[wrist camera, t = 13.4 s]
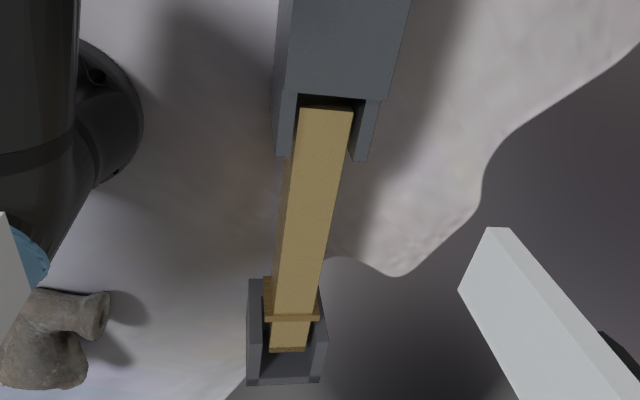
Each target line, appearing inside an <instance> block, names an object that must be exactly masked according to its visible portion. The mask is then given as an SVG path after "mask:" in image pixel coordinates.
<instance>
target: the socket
mask: <svg viewBox="0 0 640 400" xmlns="http://www.w3.org/2000/svg"><path fill="white" fill-rule="evenodd" d="M316 295H317V300H318V306H319V311H320V319H319V321H311V322H310V327H309V332H308V336H307V341H306V346H305V351H304V352H276V353H269V351H268V330H267V322H265V321H264V298H263V279H249V289H248V303H247V316H246V386H265V385H284V384H304V383H319V380H320V376H321V373H322V369H323V365H324V360H325V356H326V353H327V349H328V345H329V338H328V333H327V328H326V322H325V317H324V312H323V307H322V302H321V297H320V291H319V286H318V288H317V293H316Z"/></svg>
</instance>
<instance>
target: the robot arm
mask: <svg viewBox="0 0 640 400" xmlns="http://www.w3.org/2000/svg"><path fill="white" fill-rule="evenodd" d="M80 10H81V0H0V345H1V343H2V342H3V340H4V338H5V336H6V335H7V333H8V331H9V330H10V328H11V326H12V324H13V323H14V321H15V319H16V317H17V316H18V314H19V312H20V311H21V309H22V307H23V305H24V304H25V302H26V300H27V298H28V297H29V295H30V294H31V292H32V291H33V290H34V288H35V287H36V286H37V284H38V283H39V282H40V281H42V280H43V278H45V277H46V275H47V273H48V270H49V268H50V263H51V261H52V259H53V257H54V256H55V254H56V252H57V250H58V249H59V247H60V245H61V243H62V241H63V240H64V238H65V236H66V234H67V233H68V231H69V229H70V227H71V226H72V224H73V222H74V220H75V218H76V217H77V215H78V213H79V211H80V210H81V208H82V206H83V204H84V202H85V201H86V199H87V197H88V195H89V193H90V192H91V190H92V189H94V188H95V187H97V186H98V185H99V184H101V183H103V182H105V181H107V180H109V179H111V178H113V177H114V176H116V175H117V174H118V173H120V172H121V171H122V170H123V169H124V168H125V167H126V166H127V165H128V163H129V162H130V161H131V159H132V158H133V156H134V154H135V152H136V150H137V148H138V146H139V143H140V141H141V138H142V133H143V123H144V122H143V112H142V107H141V104H140V101H139V98H138V95H137V93H136V91H135V89H134V87H133V86H132V84H131V82H130V81H129V79H128V78H127V77H126V75H125V74H124V73H123V71H122V70H121V69H120V68H119V67H118V66H117V65H116V64H115V63H114V62H113V61H112V60H111V59H110V58H109V57H107V56H106V55H105V54H104V53H102V52H101V51H100V50H98V49H97V48H95V47H94V46H92V45H90V44H89V43H87V42H85V41H83V40H81V39H79V31H80ZM458 292H459V294H460V295H461V297H462V299H463V301H464V302H465V304H466V306H467V308H468V310H469V311H470V313H471V315H472V317H473V318H474V320H475V322H476V324H477V325H478V327H479V329H480V331H481V332H482V334H483V336H484V338H485V340H486V341H487V343H488V345H489V346H490V348H491V350H492V352H493V354H494V356H495V357H496V359H497V361H498V363H499V364H500V366H501V368H502V370H503V371H504V373H505V375H506V376H507V378H508V380H509V382H510V384H511V386H512V387H513V389H514V391H515V393H516V394H517V396H518V398H519V400H640V366H639V365H638V363H637V362H636V361H635V360H634V359H633V358H632V357H631V355H630V354H629V353H628V352H627V351H626V350H625V349H624V348H623V347H622V346H621V345H619V344H618V343H617V342H616V341H614V340H613V339H612V338H610V337H609V336H608V335H606V334H605V333H604V332H603V331H596V330H595V329H594V328H593V326H592V325H591V324H590V323H589V322H588V321H587V320H586V318H585V317H584V316H583V315H582V313H581V312H580V311H579V310H578V309H577V308H576V306H575V305H574V304H573V303H572V302H571V300H570V299H569V298H568V297H567V296H566V295H565V293H564V292H563V291H562V290H561V289H560V288H559V286H558V285H557V284H556V283H555V282H554V281H553V279H552V278H551V277H550V276H549V274H548V273H547V272H546V271H545V270H544V269H543V267H542V266H541V265H540V264H539V263H538V262H537V260H536V259H535V258H534V257H533V256H532V254H531V253H530V252H529V251H528V250H527V248H526V247H525V246H524V245H523V244H522V243H521V241H520V240H519V239H518V238H517V237H516V235H515V234H514V233H513V232H512V231H511V230H510V228H501V227H487V228H486V230H485V233H484V235H483V237H482V239H481V241H480V243H479V245H478V247H477V250H476V251H475V254H474V256H473V258H472V260H471V262H470V264H469V266H468V268H467V271H466V273H465V275H464V277H463V279H462V281H461V284H460V285H459V287H458Z"/></svg>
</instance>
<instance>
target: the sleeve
mask: <svg viewBox="0 0 640 400" xmlns="http://www.w3.org/2000/svg"><path fill="white" fill-rule="evenodd" d="M410 4H411V0H279V8H278V19H277V31H276V43H275V54H274V66H273V78H272V89H271V101H270V114H271V122H272V131H273V139H274V148H275V156H277V157H290V152H291V144H292V136H293V127H294V119H295V111H296V103H297V95H298V93H306V94H316V95H327V96H337V97H345V98H346V99H347V101H348V103H349V105H350V107H351V108H352V110H353V112H354V113H353V118H352V123H351V128H350V132H349V137H348V142H347V149H348V151H349V153H350V156H351V158H352V160H353V161H356V162H366V161H367V157H368V152H369V148H370V144H371V140H372V136H373V132H374V128H375V123H376V119H377V115H378V111H379V107H380V103H381V101H387V97H388V93H389V89H390V85H391V81H392V77H393V73H394V69H395V65H396V61H397V57H398V53H399V48H400V44H401V40H402V36H403V32H404V28H405V24H406V20H407V16H408V12H409V8H410Z"/></svg>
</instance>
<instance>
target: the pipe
mask: <svg viewBox="0 0 640 400" xmlns="http://www.w3.org/2000/svg"><path fill="white" fill-rule="evenodd" d="M109 311H110V294H109V293H108V292H97V293H93V294H90V295H89V296H78V295H73V294H67V293H61V292H57V291H53V290H48V289H43V288H34V290H33V291H32V292H31V294H30V295H29V297H28V298H27V300H26V302H25V304H24V305H23V307H22V309H21V311H20V312H19V314H18V316H17V317H16V319H15V321H14V323H13V324H12V326H11V328H10V330H9V331H8V333H7V335H6V336H5V338H4V340H3V342H2V343H1V345H0V386H4V385H6V386H8V387H12V388H17V389H26V390H48V389H55V388H60V389H62V390H67V389H71V388H73V387H75V386H78V385H80V384H82V383H83V382H84V380H85V378H86V376H87V371H88V366H89V364H88V361H87V359H86V356H85V354H84V351H83V349H82V347H81V345H80V343H79V341H78V339H77V337H76V335H75V333H74V331H75V332H77V333H78V334H79V335H80V336H81V337H83V338H84V339H87V340H90V341H94V340H97V339H98V338H99V337H100V336H101V335H102V333H103V331H104V329H105V327H106V324H107V321H108V317H109Z"/></svg>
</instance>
